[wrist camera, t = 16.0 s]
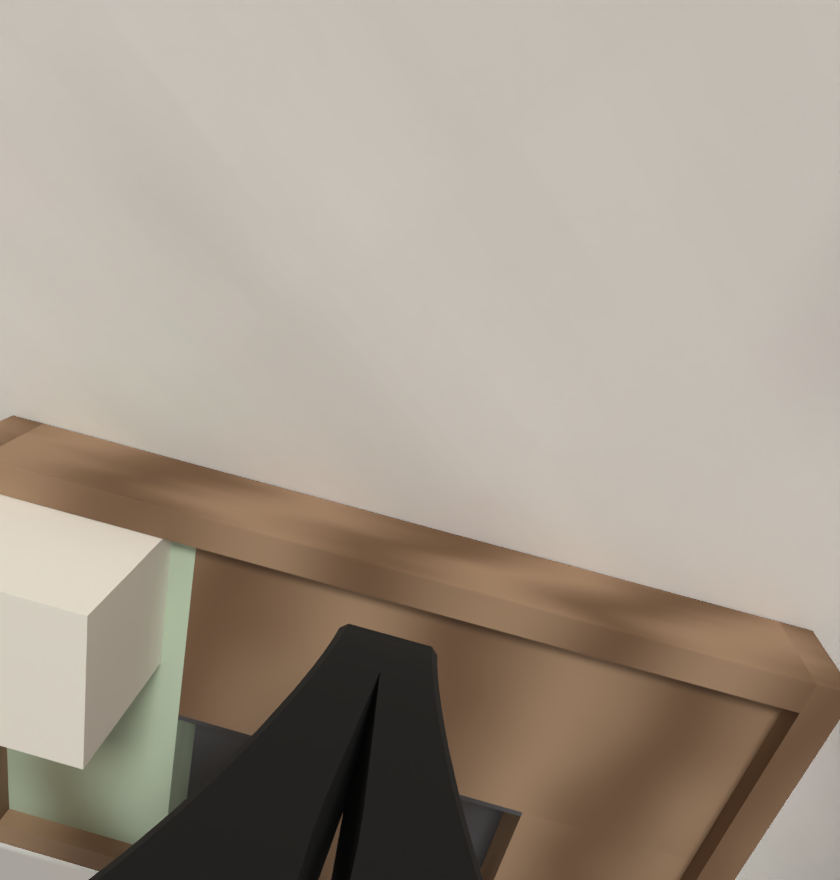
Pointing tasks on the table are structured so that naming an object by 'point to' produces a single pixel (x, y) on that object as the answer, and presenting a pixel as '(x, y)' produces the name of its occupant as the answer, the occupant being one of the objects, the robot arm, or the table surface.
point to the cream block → (74, 627)
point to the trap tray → (459, 675)
